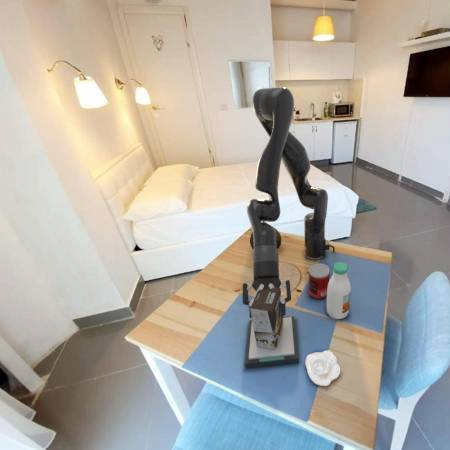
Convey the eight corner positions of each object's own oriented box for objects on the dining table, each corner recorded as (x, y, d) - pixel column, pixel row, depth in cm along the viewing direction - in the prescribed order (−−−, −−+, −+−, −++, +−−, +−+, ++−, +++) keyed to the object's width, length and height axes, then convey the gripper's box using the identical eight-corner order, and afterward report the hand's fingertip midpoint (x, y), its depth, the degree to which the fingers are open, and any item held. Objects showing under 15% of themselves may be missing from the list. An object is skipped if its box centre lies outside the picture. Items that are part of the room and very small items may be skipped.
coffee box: (277, 350, 72) (272, 312, 64) (255, 347, 73) (248, 308, 65) (284, 324, 80) (281, 287, 72) (265, 321, 81) (260, 284, 73)
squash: (267, 254, 110) (276, 222, 112) (240, 248, 116) (249, 217, 118) (281, 259, 123) (289, 229, 125) (256, 252, 129) (263, 225, 131)
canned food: (330, 287, 99) (331, 265, 94) (326, 301, 92) (326, 278, 87) (312, 283, 101) (312, 261, 96) (306, 297, 95) (306, 274, 89)
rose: (344, 349, 71) (337, 383, 63) (343, 358, 73) (336, 392, 65) (310, 339, 74) (299, 370, 66) (310, 349, 76) (299, 380, 68)
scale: (294, 320, 85) (294, 314, 84) (298, 363, 72) (298, 356, 70) (250, 325, 84) (249, 318, 82) (246, 368, 71) (244, 362, 69)
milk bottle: (334, 323, 84) (337, 277, 74) (322, 307, 90) (323, 263, 80) (353, 314, 87) (358, 269, 77) (340, 299, 93) (343, 256, 83)
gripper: (239, 261, 71) (240, 322, 67) (289, 258, 72) (293, 317, 68) (244, 264, 78) (244, 320, 74) (289, 261, 79) (292, 316, 75)
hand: (268, 318), depth 71 cm, fingers closed on coffee box, 7 cm apart
